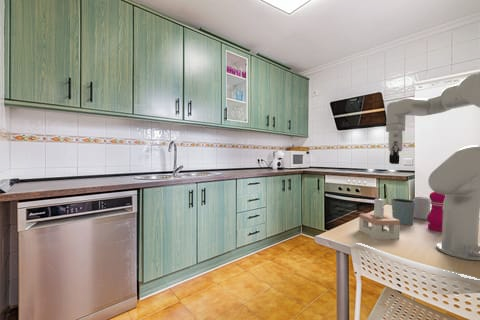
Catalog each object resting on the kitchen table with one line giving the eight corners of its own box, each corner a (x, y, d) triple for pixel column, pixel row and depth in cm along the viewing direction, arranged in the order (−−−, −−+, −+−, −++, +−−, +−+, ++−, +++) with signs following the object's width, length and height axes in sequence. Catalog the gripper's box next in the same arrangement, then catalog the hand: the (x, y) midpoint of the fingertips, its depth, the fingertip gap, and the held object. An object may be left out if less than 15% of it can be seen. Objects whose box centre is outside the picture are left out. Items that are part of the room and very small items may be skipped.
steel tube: (385, 235, 98) (386, 200, 97) (377, 235, 97) (378, 200, 97) (378, 232, 101) (380, 198, 101) (371, 232, 101) (372, 198, 100)
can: (413, 215, 129) (414, 195, 129) (430, 218, 124) (431, 197, 123) (411, 218, 124) (412, 197, 123) (428, 221, 118) (429, 199, 118)
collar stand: (399, 238, 94) (399, 220, 94) (375, 239, 93) (376, 220, 93) (380, 229, 105) (381, 213, 105) (359, 230, 104) (359, 213, 104)
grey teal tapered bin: (402, 226, 110) (403, 202, 110) (385, 219, 120) (386, 198, 120) (419, 225, 112) (420, 202, 111) (401, 219, 122) (402, 197, 121)
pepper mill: (450, 232, 102) (452, 190, 101) (432, 231, 103) (434, 189, 102) (439, 227, 109) (441, 187, 108) (423, 226, 110) (424, 187, 109)
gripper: (407, 126, 96) (405, 164, 97) (402, 129, 111) (401, 162, 112) (387, 126, 100) (385, 163, 101) (385, 129, 115) (383, 162, 116)
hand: (393, 163), depth 106 cm, fingers open, 9 cm apart
